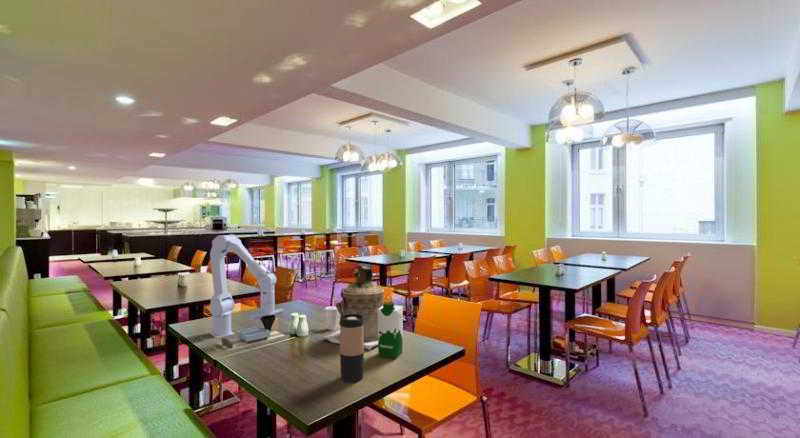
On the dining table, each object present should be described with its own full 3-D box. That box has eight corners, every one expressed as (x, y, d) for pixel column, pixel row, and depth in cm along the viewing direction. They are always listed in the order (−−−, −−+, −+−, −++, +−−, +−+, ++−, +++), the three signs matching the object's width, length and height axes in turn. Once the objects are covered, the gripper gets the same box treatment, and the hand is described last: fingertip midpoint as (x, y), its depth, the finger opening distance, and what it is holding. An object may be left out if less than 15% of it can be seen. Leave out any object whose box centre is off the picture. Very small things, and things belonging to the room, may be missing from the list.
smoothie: (336, 331, 177) (336, 300, 177) (323, 330, 179) (322, 299, 178) (341, 327, 184) (341, 297, 183) (328, 326, 185) (328, 296, 185)
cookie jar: (401, 334, 173) (400, 262, 172) (370, 352, 152) (369, 269, 151) (355, 326, 185) (354, 258, 184) (320, 341, 163) (320, 265, 163)
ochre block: (263, 329, 181) (263, 318, 181) (273, 327, 184) (273, 316, 184) (267, 331, 177) (267, 320, 177) (278, 329, 181) (278, 318, 181)
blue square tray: (237, 338, 166) (237, 330, 166) (260, 333, 172) (260, 326, 172) (246, 344, 158) (246, 336, 158) (270, 339, 165) (270, 331, 165)
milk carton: (375, 357, 146) (375, 303, 145) (384, 349, 154) (384, 298, 154) (397, 360, 143) (397, 305, 142) (405, 351, 151) (405, 300, 151)
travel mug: (340, 373, 131) (340, 314, 131) (363, 372, 132) (363, 313, 131) (339, 383, 124) (339, 320, 123) (363, 382, 124) (363, 319, 124)
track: (216, 343, 161) (216, 337, 161) (274, 330, 178) (274, 325, 178) (227, 351, 152) (227, 345, 152) (287, 337, 169) (287, 332, 169)
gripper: (254, 306, 161) (255, 338, 162) (287, 300, 171) (287, 331, 172) (248, 303, 167) (248, 334, 167) (280, 297, 177) (280, 327, 177)
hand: (267, 332), depth 170 cm, fingers closed
